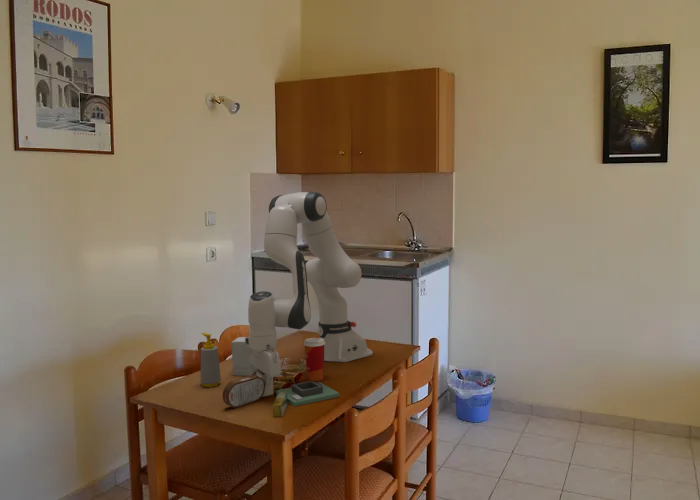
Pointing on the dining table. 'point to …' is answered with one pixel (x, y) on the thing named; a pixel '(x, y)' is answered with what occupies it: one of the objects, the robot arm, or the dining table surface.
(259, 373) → the plug
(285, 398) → the medication box
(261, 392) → the tin
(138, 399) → the dining table surface
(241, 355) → the supplement box
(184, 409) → the dining table surface
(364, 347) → the robot arm
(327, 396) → the board
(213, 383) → the soap bottle
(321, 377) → the paper cup
